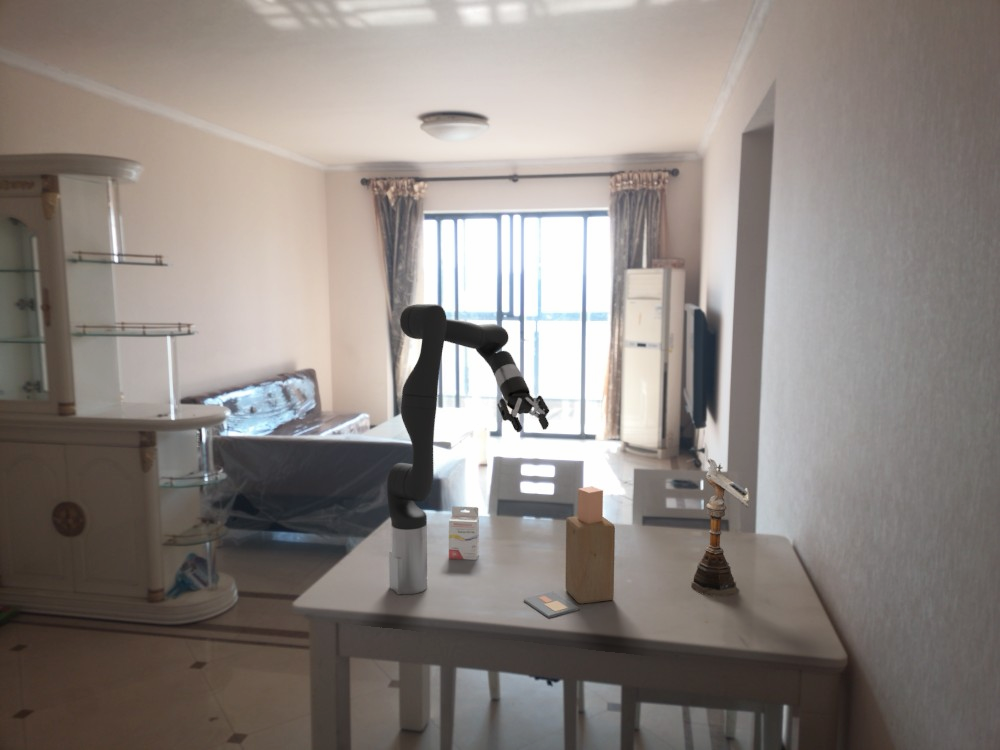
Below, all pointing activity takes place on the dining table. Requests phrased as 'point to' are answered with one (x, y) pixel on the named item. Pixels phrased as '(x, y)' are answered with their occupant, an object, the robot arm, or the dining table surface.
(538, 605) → the tile
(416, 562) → the robot arm
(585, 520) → the terracotta block
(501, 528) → the dining table surface
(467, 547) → the ink cartridge box
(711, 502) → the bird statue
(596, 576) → the wooden block
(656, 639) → the dining table surface
